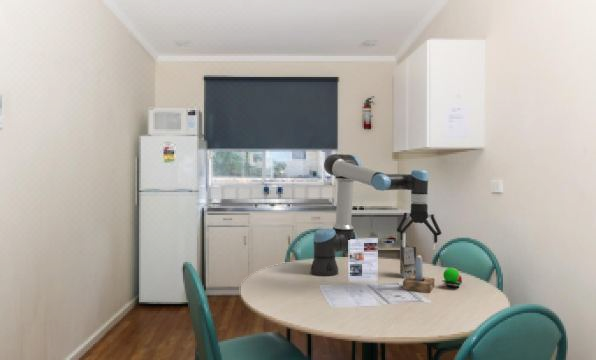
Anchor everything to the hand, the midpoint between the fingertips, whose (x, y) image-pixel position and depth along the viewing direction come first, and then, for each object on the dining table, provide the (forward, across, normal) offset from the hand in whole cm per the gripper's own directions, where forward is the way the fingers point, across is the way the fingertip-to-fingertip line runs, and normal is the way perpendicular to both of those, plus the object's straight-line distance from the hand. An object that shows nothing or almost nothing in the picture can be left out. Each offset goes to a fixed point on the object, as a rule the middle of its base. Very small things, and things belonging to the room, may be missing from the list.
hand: (418, 248), depth 198 cm
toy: (+19, +14, +11) cm, 26 cm away
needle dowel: (+19, +1, 0) cm, 19 cm away
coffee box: (+19, -9, +21) cm, 30 cm away
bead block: (+19, +1, 0) cm, 19 cm away
